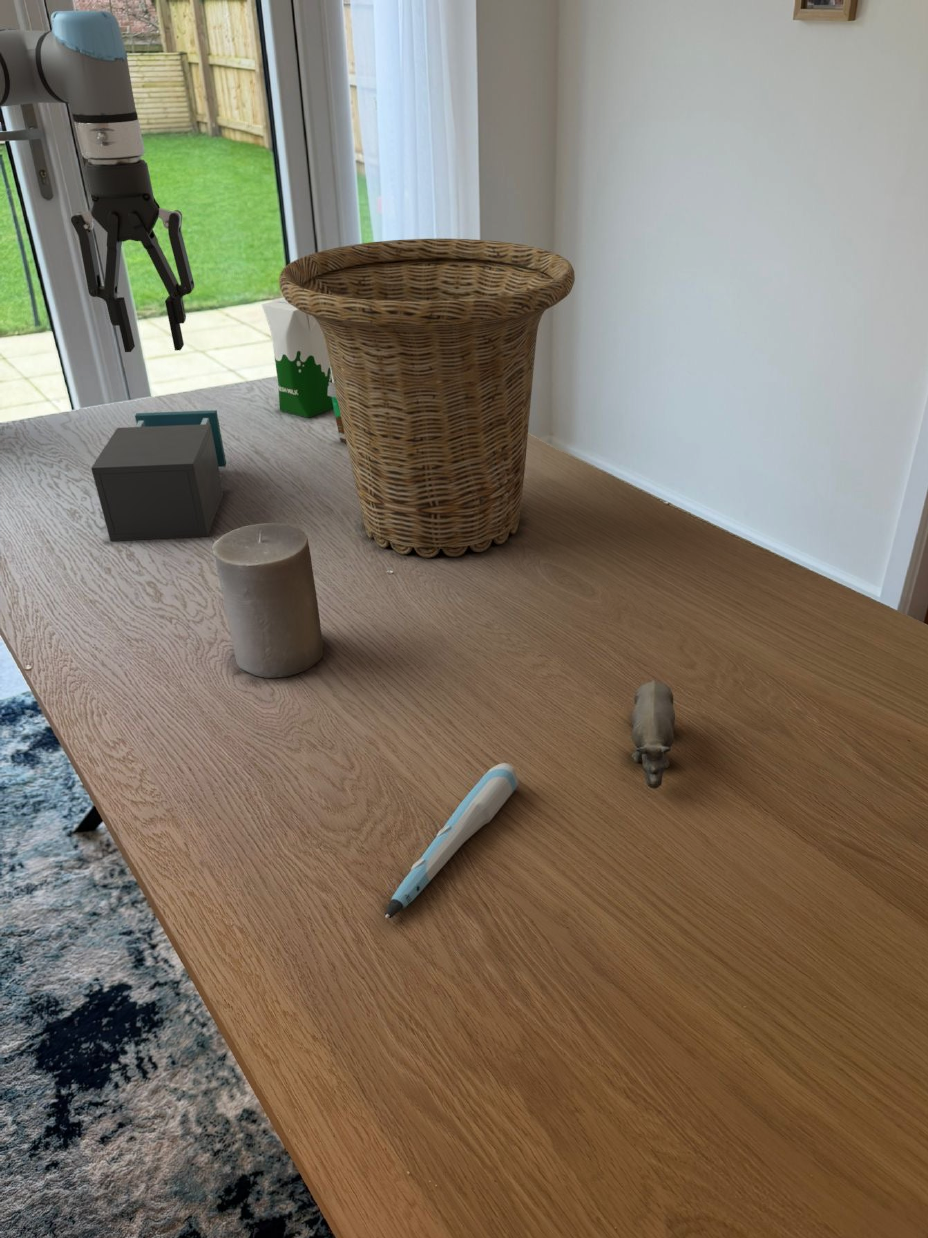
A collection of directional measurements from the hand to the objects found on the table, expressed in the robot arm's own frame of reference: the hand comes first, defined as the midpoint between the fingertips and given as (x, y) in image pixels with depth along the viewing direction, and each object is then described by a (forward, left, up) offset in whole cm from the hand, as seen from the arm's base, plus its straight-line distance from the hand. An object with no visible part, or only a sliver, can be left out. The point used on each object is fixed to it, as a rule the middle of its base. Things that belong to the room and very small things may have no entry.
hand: (154, 348), depth 141 cm
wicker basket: (+38, -18, -20) cm, 47 cm away
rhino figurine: (+56, -73, -20) cm, 94 cm away
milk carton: (+16, +32, -20) cm, 41 cm away
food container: (+28, +16, -20) cm, 38 cm away
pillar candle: (+19, -50, -20) cm, 57 cm away
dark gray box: (0, -11, -20) cm, 23 cm away
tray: (0, +1, -19) cm, 19 cm away
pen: (+37, -83, -20) cm, 93 cm away
